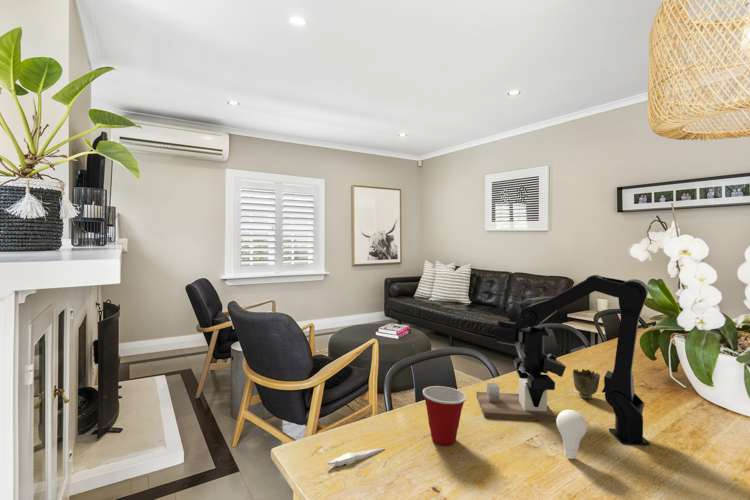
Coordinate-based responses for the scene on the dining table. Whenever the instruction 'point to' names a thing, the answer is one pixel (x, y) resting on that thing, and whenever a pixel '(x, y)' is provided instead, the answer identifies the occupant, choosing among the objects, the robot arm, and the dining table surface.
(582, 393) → the dark bronze hollow piece
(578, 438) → the lightbulb
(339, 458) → the white tapered spike
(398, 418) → the dining table surface
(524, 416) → the board
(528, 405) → the off-white cube
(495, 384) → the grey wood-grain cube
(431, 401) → the plastic cup
